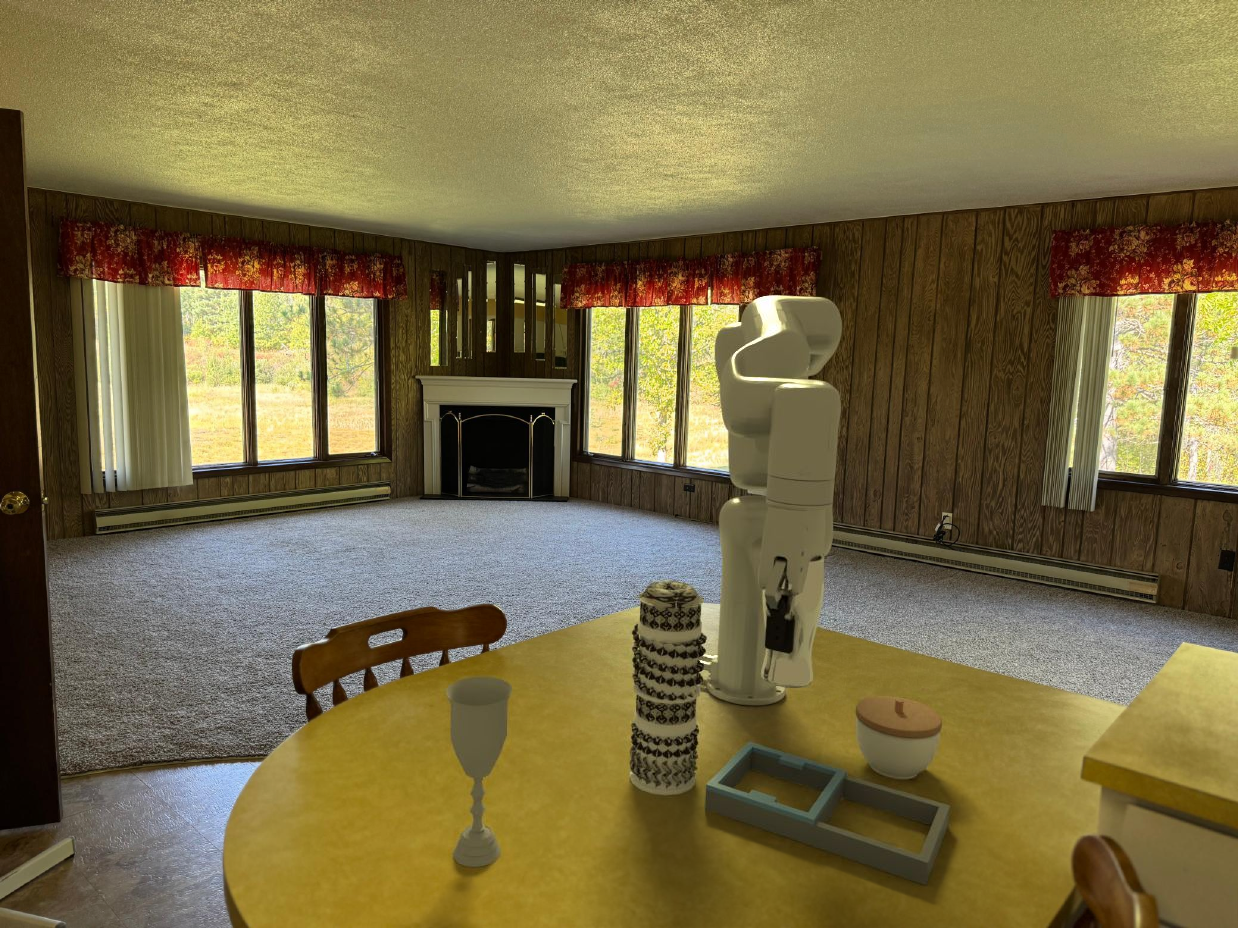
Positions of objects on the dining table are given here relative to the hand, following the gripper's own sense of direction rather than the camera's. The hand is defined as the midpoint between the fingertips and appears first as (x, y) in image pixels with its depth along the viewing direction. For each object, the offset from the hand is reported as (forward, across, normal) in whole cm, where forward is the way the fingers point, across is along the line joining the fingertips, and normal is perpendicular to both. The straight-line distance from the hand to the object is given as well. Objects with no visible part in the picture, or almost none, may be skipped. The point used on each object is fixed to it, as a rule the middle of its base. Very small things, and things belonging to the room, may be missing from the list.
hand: (789, 639), depth 97 cm
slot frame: (+20, 0, +6) cm, 21 cm away
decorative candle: (+21, +3, -14) cm, 25 cm away
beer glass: (+5, 0, 0) cm, 5 cm away
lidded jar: (+21, -16, +10) cm, 28 cm away
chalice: (+20, +28, -23) cm, 42 cm away
